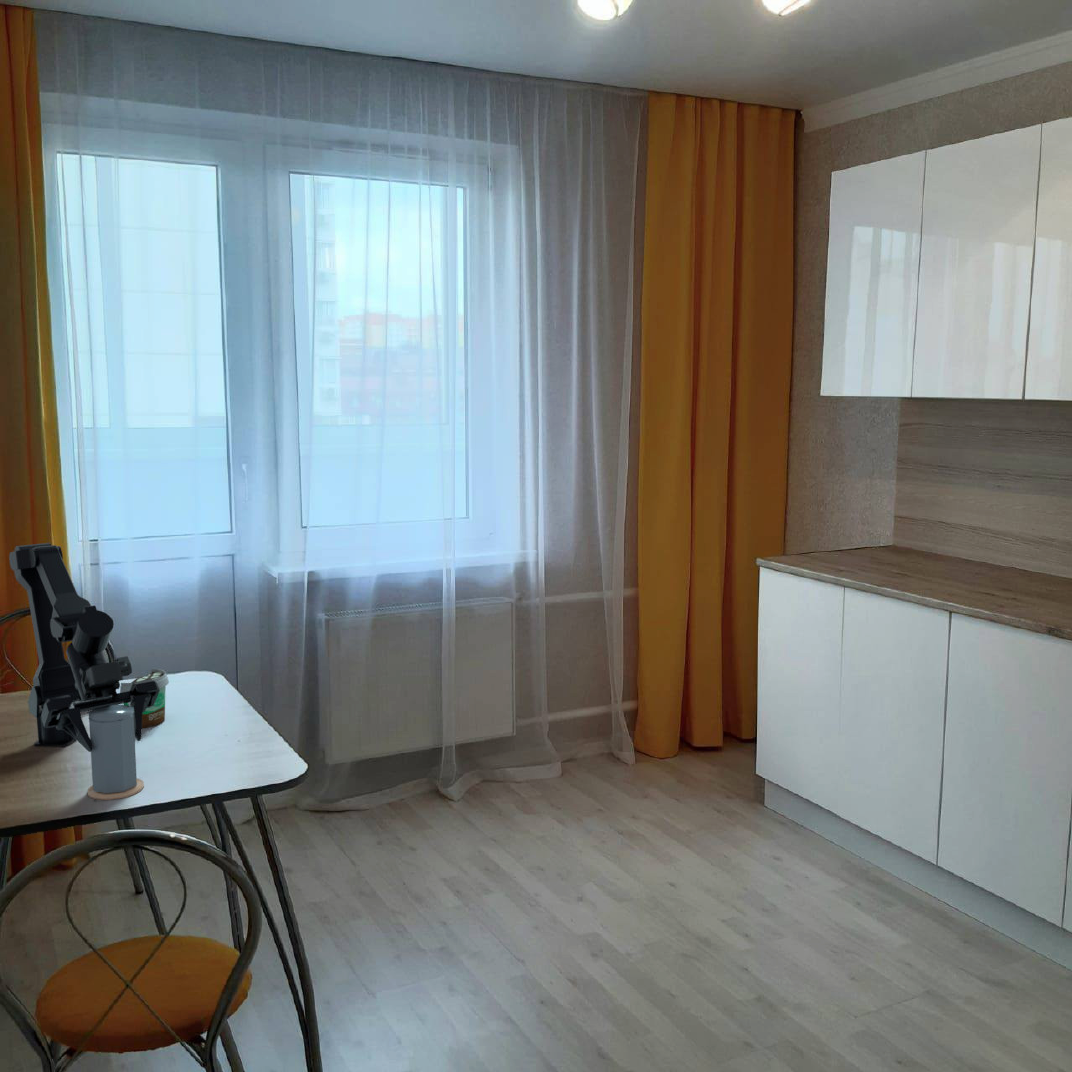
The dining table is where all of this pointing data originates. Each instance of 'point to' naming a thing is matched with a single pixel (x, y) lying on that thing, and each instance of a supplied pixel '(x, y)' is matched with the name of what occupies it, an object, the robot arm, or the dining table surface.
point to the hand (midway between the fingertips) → (115, 745)
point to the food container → (157, 711)
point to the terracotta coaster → (116, 794)
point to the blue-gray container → (112, 748)
